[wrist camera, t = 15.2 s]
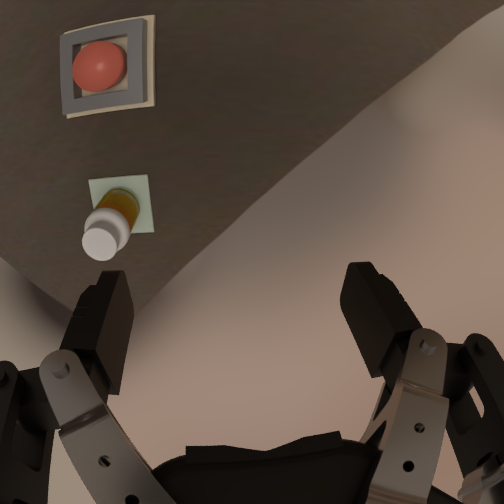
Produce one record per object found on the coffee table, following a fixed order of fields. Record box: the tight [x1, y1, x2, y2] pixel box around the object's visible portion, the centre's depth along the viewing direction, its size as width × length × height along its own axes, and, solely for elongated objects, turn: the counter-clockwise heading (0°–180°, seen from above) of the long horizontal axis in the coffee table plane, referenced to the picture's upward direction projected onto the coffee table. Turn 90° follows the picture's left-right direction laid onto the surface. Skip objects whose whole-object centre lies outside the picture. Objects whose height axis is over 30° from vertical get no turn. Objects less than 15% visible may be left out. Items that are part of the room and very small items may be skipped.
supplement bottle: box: [82, 187, 140, 261], centre depth 33 cm, size 5×5×10 cm
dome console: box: [60, 15, 156, 118], centre depth 26 cm, size 11×11×4 cm
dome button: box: [72, 41, 127, 92], centre depth 25 cm, size 6×6×3 cm
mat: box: [89, 174, 155, 233], centre depth 37 cm, size 8×8×1 cm
